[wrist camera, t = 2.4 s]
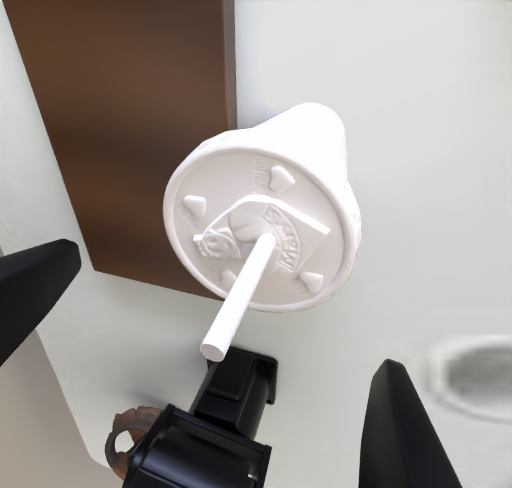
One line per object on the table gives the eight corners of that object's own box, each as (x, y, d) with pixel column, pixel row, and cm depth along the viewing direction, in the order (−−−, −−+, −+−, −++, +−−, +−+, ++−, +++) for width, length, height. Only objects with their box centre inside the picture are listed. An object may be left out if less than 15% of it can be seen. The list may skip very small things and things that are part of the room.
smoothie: (382, 184, 18) (368, 455, 8) (271, 202, 21) (144, 422, 10) (361, 53, 15) (289, 194, 5) (234, 94, 18) (3, 244, 7)
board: (241, 290, 26) (234, 304, 25) (105, 259, 29) (93, 270, 28) (233, -60, 15) (219, -64, 13) (8, -54, 18) (-19, -57, 16)
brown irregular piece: (119, 404, 46) (79, 445, 38) (172, 364, 44) (142, 399, 36) (175, 476, 46) (147, 533, 38) (230, 439, 44) (213, 491, 36)
